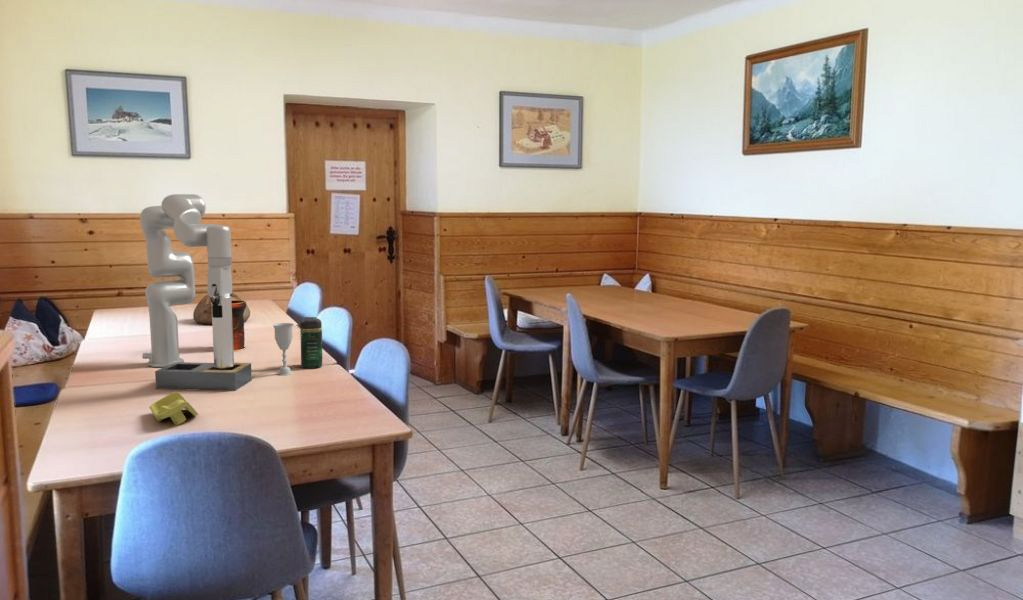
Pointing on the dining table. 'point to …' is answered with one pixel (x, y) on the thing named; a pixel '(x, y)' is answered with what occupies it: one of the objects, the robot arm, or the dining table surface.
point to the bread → (205, 312)
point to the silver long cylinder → (223, 336)
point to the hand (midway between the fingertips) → (222, 315)
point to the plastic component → (172, 408)
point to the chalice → (283, 343)
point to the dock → (202, 376)
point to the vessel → (237, 324)
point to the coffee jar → (311, 342)
